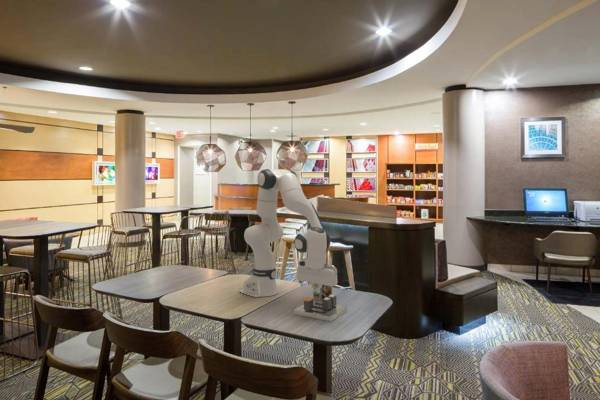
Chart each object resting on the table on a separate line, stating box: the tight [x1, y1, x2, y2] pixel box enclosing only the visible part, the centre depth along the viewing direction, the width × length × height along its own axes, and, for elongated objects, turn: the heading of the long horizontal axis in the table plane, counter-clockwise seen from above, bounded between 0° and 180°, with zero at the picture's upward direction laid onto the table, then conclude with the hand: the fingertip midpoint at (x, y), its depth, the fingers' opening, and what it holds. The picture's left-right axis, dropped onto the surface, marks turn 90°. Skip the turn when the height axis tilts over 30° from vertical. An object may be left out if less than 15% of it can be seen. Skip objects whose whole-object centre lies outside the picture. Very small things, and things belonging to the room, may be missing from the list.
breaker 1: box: [322, 297, 332, 310], centre depth 179 cm, size 3×4×5 cm
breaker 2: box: [327, 294, 337, 307], centre depth 183 cm, size 3×4×5 cm
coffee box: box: [312, 284, 333, 302], centre depth 199 cm, size 9×6×16 cm
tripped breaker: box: [303, 296, 313, 311], centre depth 179 cm, size 3×4×5 cm
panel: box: [293, 300, 348, 323], centre depth 181 cm, size 20×16×2 cm
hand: (316, 292), depth 176 cm, fingers closed
